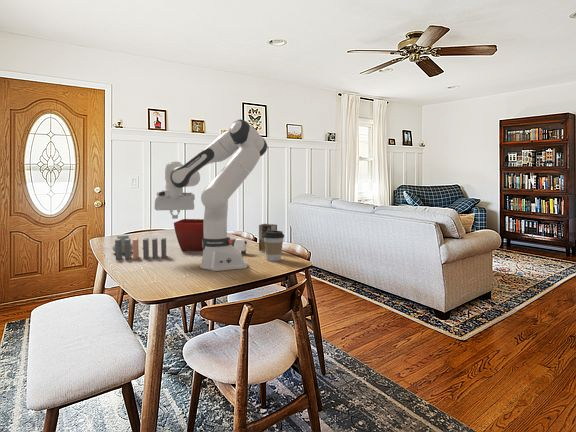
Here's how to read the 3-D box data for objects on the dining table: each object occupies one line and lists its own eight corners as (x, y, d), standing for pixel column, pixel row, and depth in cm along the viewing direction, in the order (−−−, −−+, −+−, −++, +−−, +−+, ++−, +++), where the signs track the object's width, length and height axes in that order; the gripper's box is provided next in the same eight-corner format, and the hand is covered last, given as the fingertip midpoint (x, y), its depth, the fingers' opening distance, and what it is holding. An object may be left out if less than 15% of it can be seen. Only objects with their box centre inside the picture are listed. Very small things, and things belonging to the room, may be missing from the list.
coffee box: (277, 251, 211) (277, 224, 210) (271, 253, 206) (271, 225, 204) (264, 249, 216) (265, 223, 214) (258, 251, 211) (258, 224, 209)
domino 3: (138, 256, 193) (138, 238, 192) (137, 258, 188) (136, 239, 187) (134, 256, 192) (134, 238, 191) (133, 258, 188) (132, 240, 186)
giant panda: (248, 253, 206) (248, 236, 205) (245, 255, 200) (245, 238, 200) (223, 252, 208) (223, 235, 207) (220, 254, 203) (220, 237, 202)
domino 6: (166, 255, 196) (166, 237, 195) (165, 257, 191) (165, 239, 190) (162, 255, 196) (162, 237, 194) (161, 257, 191) (161, 239, 190)
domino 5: (157, 256, 195) (157, 237, 194) (156, 258, 190) (156, 239, 189) (153, 256, 194) (153, 238, 193) (152, 258, 190) (152, 239, 189)
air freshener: (114, 255, 196) (114, 237, 195) (111, 252, 202) (110, 235, 201) (135, 252, 203) (135, 235, 202) (131, 250, 209) (131, 233, 208)
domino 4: (148, 256, 194) (148, 238, 193) (147, 258, 189) (147, 239, 188) (145, 256, 194) (144, 238, 192) (143, 258, 189) (142, 239, 188)
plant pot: (206, 252, 208) (206, 223, 206) (173, 251, 208) (173, 222, 206) (213, 245, 227) (213, 219, 225) (183, 245, 227) (183, 218, 225)
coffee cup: (288, 259, 190) (289, 231, 189) (273, 263, 182) (273, 234, 180) (273, 256, 198) (273, 229, 196) (258, 259, 190) (258, 231, 188)
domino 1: (122, 257, 191) (121, 238, 190) (119, 259, 186) (119, 240, 185) (117, 257, 190) (117, 238, 189) (115, 259, 186) (115, 240, 185)
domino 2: (131, 256, 192) (130, 238, 191) (129, 259, 187) (128, 240, 186) (127, 257, 192) (126, 238, 190) (125, 259, 187) (124, 240, 186)
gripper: (194, 192, 196) (195, 217, 198) (155, 192, 192) (156, 218, 193) (194, 192, 190) (195, 218, 192) (153, 193, 185) (154, 219, 187)
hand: (175, 218), depth 192 cm, fingers closed
